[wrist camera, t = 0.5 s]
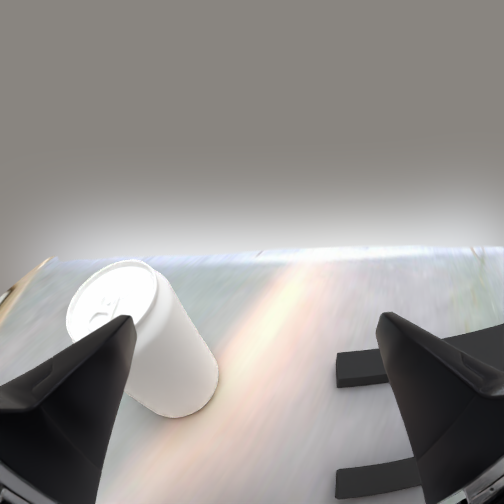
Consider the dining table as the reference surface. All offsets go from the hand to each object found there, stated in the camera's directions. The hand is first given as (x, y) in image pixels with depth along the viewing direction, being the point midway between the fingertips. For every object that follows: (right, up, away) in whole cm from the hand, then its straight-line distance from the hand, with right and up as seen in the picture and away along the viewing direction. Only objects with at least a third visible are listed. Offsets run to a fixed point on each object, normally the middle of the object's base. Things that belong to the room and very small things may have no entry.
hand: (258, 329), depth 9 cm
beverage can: (-7, -9, +14) cm, 18 cm away
